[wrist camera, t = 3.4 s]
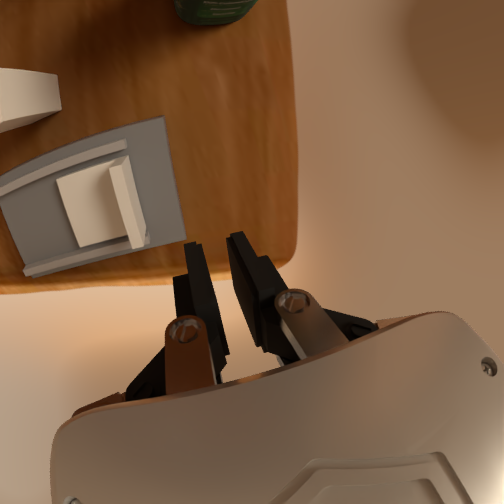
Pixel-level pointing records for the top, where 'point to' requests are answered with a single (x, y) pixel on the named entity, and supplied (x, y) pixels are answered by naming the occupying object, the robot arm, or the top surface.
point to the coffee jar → (212, 11)
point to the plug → (26, 97)
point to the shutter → (103, 203)
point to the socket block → (53, 210)
